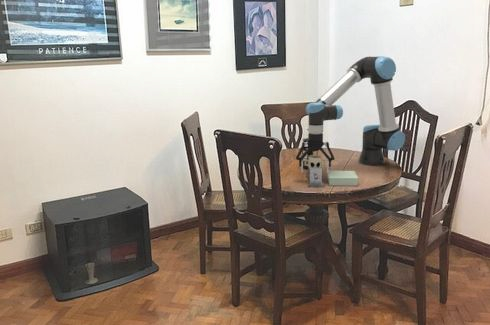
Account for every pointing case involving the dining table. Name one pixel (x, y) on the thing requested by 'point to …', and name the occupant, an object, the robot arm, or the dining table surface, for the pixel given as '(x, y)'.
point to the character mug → (314, 162)
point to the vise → (315, 177)
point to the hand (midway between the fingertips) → (314, 172)
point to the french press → (307, 154)
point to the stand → (342, 178)
